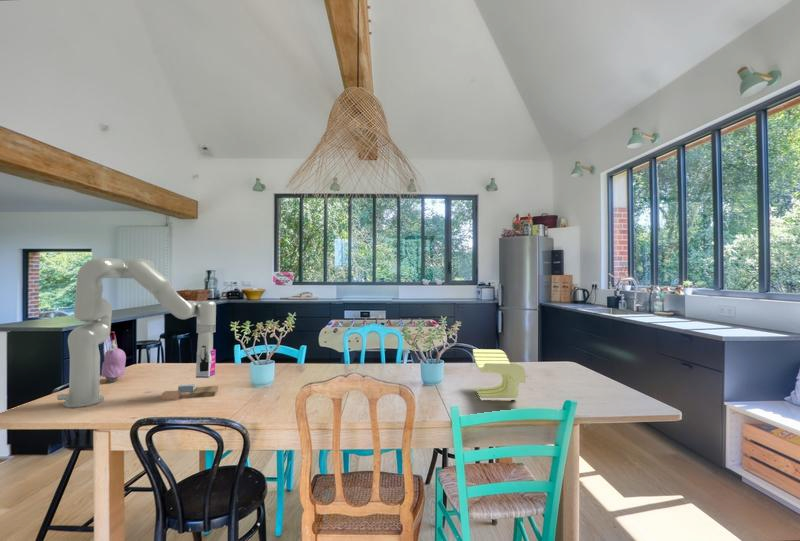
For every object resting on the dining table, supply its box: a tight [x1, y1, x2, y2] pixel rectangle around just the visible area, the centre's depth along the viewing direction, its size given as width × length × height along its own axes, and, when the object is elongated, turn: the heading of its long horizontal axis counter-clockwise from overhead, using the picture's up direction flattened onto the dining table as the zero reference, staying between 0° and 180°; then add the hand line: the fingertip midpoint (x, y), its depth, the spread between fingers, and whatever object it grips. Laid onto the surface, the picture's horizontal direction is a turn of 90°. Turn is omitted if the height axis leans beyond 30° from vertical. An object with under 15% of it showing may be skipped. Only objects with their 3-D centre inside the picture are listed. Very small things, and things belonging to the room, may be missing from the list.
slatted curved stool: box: [472, 348, 526, 399], centre depth 165 cm, size 30×16×18 cm, turn 178°
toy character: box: [100, 339, 127, 383], centre depth 186 cm, size 12×10×20 cm
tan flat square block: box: [190, 385, 219, 399], centre depth 166 cm, size 9×9×2 cm
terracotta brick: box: [161, 390, 181, 401], centre depth 159 cm, size 6×3×3 cm, turn 99°
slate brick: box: [177, 383, 196, 394], centre depth 169 cm, size 6×3×3 cm, turn 107°
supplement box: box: [195, 348, 217, 379], centre depth 166 cm, size 6×6×12 cm
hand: (205, 368), depth 166 cm, fingers closed on supplement box, 7 cm apart
